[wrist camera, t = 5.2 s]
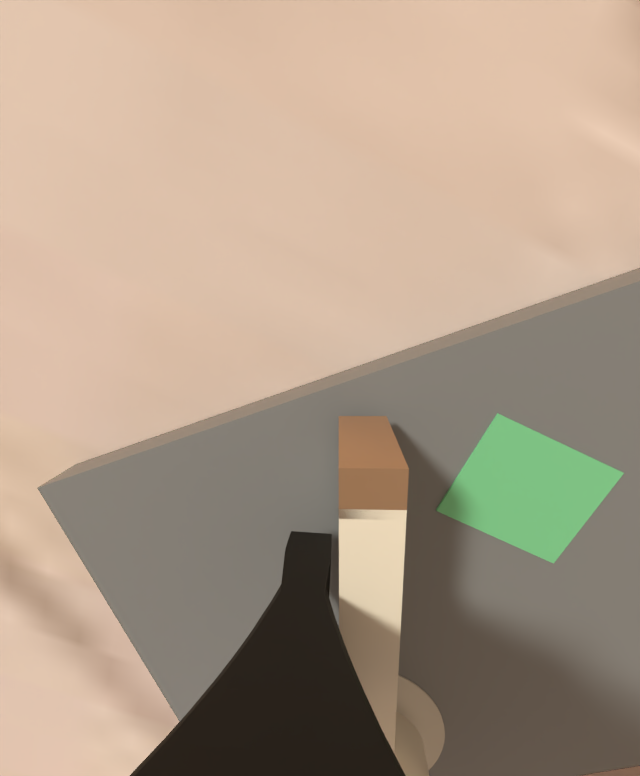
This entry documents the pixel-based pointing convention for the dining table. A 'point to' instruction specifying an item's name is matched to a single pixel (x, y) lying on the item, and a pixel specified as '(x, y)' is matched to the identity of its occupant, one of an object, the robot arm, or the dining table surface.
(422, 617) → the dial board
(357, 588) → the brown-capped cream post
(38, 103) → the dining table surface
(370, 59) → the dining table surface
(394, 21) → the dining table surface
